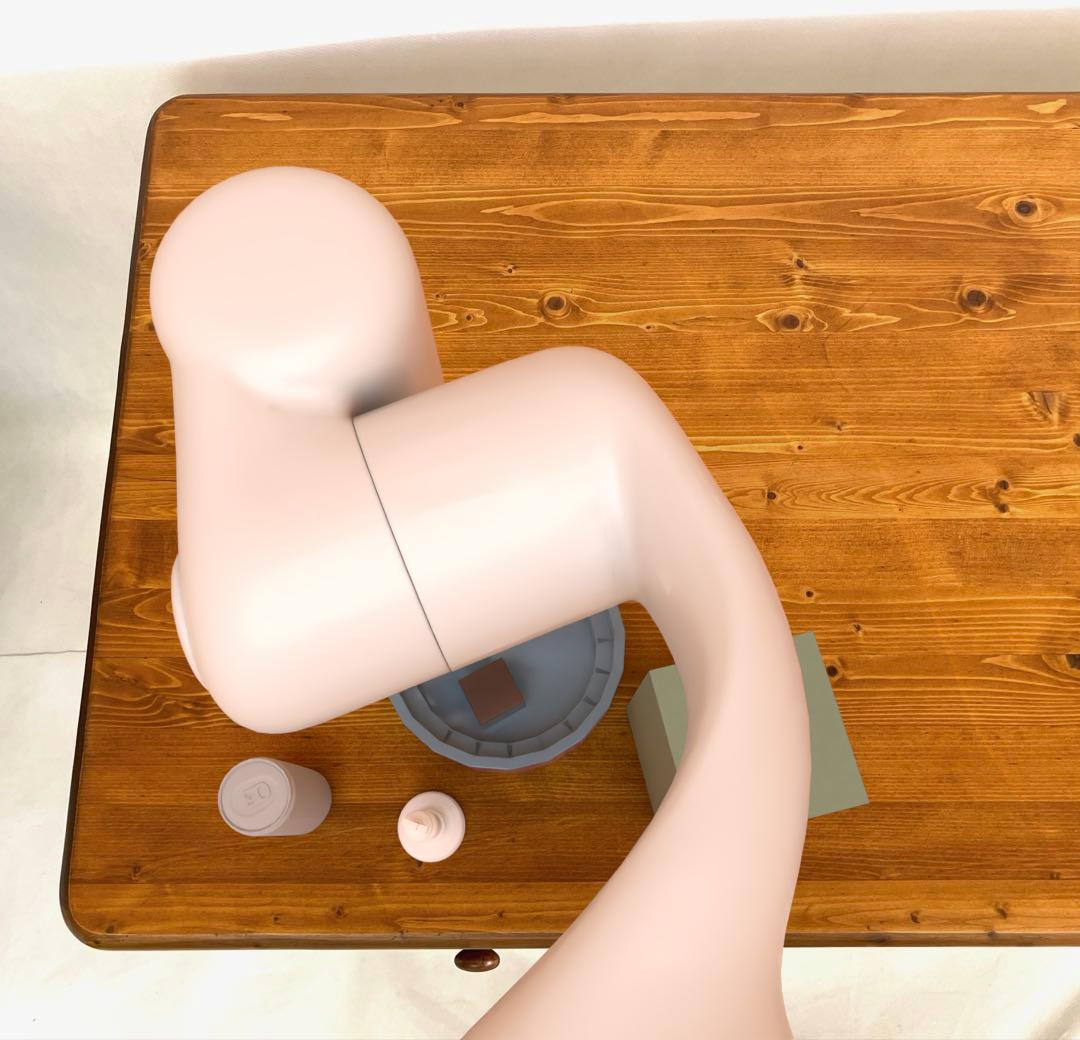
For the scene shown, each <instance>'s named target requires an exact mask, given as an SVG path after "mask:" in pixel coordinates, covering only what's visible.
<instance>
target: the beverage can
mask: <svg viewBox="0 0 1080 1040" xmlns="http://www.w3.org/2000/svg"><path fill="white" fill-rule="evenodd" d="M332 804H333V794H332V790H331V786H330V784H329V782H328V780H327V778H326V777H324V776H323V775H322V774H321V773H320V772H319V771H317V770H314V769H311V768H308V767H305V766H302V765H298V764H295V763H291V762H288V761H284V760H280V759H276V758H272V757H266V756H257V757H250V758H248V759H245V760H242V761H240V762H238V763H237V764H235V765H234V766H232V768H230V770H229V771H228V772H227V773H226V774H225V775H224V777H223V779H222V782H221V783H220V786H219V789H218V792H217V807H218V810H219V814H220V815H221V817H222V819H223V821H224V822H225V823H226V824H227V825H228V827H230V828H231V829H232V830H233V831H236V832H237V833H239V834H241V835H245V836H249V837H282V836H284V837H285V836H302V835H306V834H308V833H311V832H313V831H315V829H317V828H318V827H319V826H320V825H321V824H322V823H323V822H324V820H325V819H326V818H327V816H328V814H329V812H330V810H331V806H332Z"/></svg>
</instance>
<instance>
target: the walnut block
mask: <svg viewBox="0 0 1080 1040" xmlns="http://www.w3.org/2000/svg"><path fill="white" fill-rule="evenodd" d="M458 682H459V684H460V686H461V688H462V690H463V692H464V694H465V696H466V698H467V700H468V702H469V704H470V706H471V708H472V709H473V711H474V713H475V715H476V717H477V719H478V721H479V723H480V725H481V726H482V728H483V729H486V728H488V727H490V726H492V725H494V724H496V723H497V722H499V721H501V720H503V719H505V718H507V717H508V716H510V715H512V714H514V713H516V712H517V711H519V710H521V709H523V708H525V707H526V705H525V700H524V698H523V696H522V694H521V692H520V690H519V688H518V686H517V685H516V683H515V681H514V679H513V677H512V675H511V673H510V671H509V670H508V668H507V666H506V664H505V662H504V660H503V658H499V659H497V660H495V661H494V662H492V663H490V664H488V665H486V666H484V667H482V668H481V669H479V670H477V671H475V672H473V673H471V674H469V675H467V676H466V677H464V678H462V679H460V680H459V681H458Z"/></svg>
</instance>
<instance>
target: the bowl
mask: <svg viewBox="0 0 1080 1040" xmlns="http://www.w3.org/2000/svg"><path fill="white" fill-rule="evenodd" d="M625 647H626V630H625V626H624V622H623V618H622V615H621V610H620V607H619V604H618V605H616V606H614V607H611V608H609V609H606V610H604V611H602V612H599V613H597V614H594V615H592V616H589V617H587V618H584V619H581V620H579V621H576V622H574V623H571V624H568V625H566V626H563V627H561V628H558V629H556V630H553V631H551V632H548V633H546V634H543V635H541V636H539V637H536V638H534V639H531V640H529V641H526V642H524V643H521V644H519V645H516V646H514V647H511V648H509V649H506V650H504V651H502V652H499V653H497V654H494V655H492V656H489V657H487V658H484V659H482V660H480V661H477V662H475V663H472V664H470V665H467V666H465V667H462V668H460V669H457V670H455V671H453V672H452V671H451V672H448V673H446V674H443V675H441V676H438V677H436V678H433V679H431V680H428V681H426V682H423V683H421V684H419V685H416V686H414V687H411V688H409V689H406V690H404V691H401V692H399V693H396V694H394V695H391V696H389V697H388V700H389V701H390V703H391V705H392V707H393V708H394V709H395V712H396V713H397V716H398V717H399V719H400V721H401V723H402V725H403V726H405V728H407V729H408V730H409V731H410V732H411V733H412V734H414V736H416V737H417V739H419V740H420V741H421V742H422V743H423V744H425V745H426V746H427V748H429V749H430V750H431V751H432V752H434V753H435V754H436V755H438V756H439V757H442V758H443V759H446V760H449V761H451V762H453V763H456V764H458V765H460V766H463V767H464V768H467V769H469V770H472V771H474V772H483V773H494V774H495V773H496V774H507V775H508V774H509V775H514V774H518V773H522V772H526V771H531V770H534V769H538V768H543V767H547V766H550V765H551V764H553V763H555V762H556V761H559V760H560V759H561V758H563V757H565V756H566V755H568V754H569V753H571V752H572V751H574V750H576V749H577V748H578V747H580V746H581V745H583V744H584V742H586V740H587V739H588V738H589V737H590V735H591V734H592V733H593V731H595V729H596V728H597V726H599V724H600V723H601V722H602V721H603V719H604V718H605V717H606V716H607V713H608V711H609V710H610V707H611V704H612V702H613V700H614V696H615V694H616V691H617V689H618V687H619V684H620V681H621V679H622V676H623V673H624V669H625V668H624V667H625V652H626V651H625V649H626V648H625ZM499 658H503V660H504V662H505V664H506V666H507V668H508V670H509V671H510V673H511V675H512V677H513V679H514V681H515V683H516V685H517V686H518V688H519V690H520V692H521V694H522V696H523V698H524V700H525V705H526V707H525V708H523V709H521V710H519V711H517V712H516V713H514V714H512V715H510V716H508V717H507V718H505V719H503V720H501V721H499V722H497V723H496V724H494V725H492V726H490V727H488V728H486V729H483V728H482V726H481V725H480V723H479V721H478V719H477V717H476V715H475V713H474V711H473V709H472V708H471V706H470V704H469V702H468V700H467V698H466V696H465V694H464V692H463V690H462V688H461V686H460V684H459V682H458V681H459V680H460V679H462V678H464V677H466V676H467V675H469V674H471V673H473V672H475V671H477V670H479V669H481V668H482V667H484V666H486V665H488V664H490V663H492V662H494V661H495V660H497V659H499Z"/></svg>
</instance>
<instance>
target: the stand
mask: <svg viewBox="0 0 1080 1040" xmlns="http://www.w3.org/2000/svg"><path fill="white" fill-rule="evenodd" d="M792 637H793V641H794V645H795V649H796V653H797V656H798V660H799V664H800V668H801V673H802V679H803V685H804V691H805V697H806V703H807V709H808V715H809V728H810V750H811V780H810V798H809V810H808V820H809V819H812V818H817V817H820V816H824V815H828V814H832V813H836V812H840V811H843V810H848V809H851V808H857V807H859V806H864V805H867V804H869V803H870V799H869V797H868V793H867V791H866V788H865V784H864V780H863V778H862V774H861V772H860V769H859V766H858V763H857V760H856V757H855V754H854V750H853V748H852V745H851V741H850V739H849V736H848V732H847V730H846V726H845V724H844V720H843V717H842V715H841V711H840V708H839V705H838V702H837V698H836V696H835V693H834V690H833V686H832V684H831V681H830V678H829V674H828V672H827V669H826V665H825V662H824V659H823V656H822V653H821V651H820V648H819V643H818V642H817V638H816V636H815V632H814V630H811V631H806V632H802V633H797V634H792ZM625 711H626V714H627V718H628V721H629V725H630V730H631V733H632V737H633V740H634V745H635V748H636V753H637V756H638V760H639V763H640V767H641V771H642V775H643V779H644V783H645V786H646V790H647V793H648V797H649V802H650V805H651V809H652V813H653V817H654V816H655V814H656V812H657V810H658V808H659V807H660V805H661V803H662V801H663V799H664V797H665V795H666V794H667V792H668V790H669V788H670V786H671V784H672V782H673V779H674V777H675V774H676V772H677V769H678V767H679V764H680V761H681V758H682V754H683V751H684V747H685V741H686V735H687V726H688V712H687V703H686V696H685V691H684V687H683V683H682V681H681V678H680V675H679V672H678V670H677V667H676V664H675V663H674V664H670V665H666V666H661V667H657V668H654V669H649V670H648V672H647V673H646V675H645V677H644V678H643V679H642V681H641V683H640V684H639V686H638V687H637V689H636V690H635V692H634V694H633V695H632V696H631V698H630V700H629V702H628V704H627V705H626V707H625Z"/></svg>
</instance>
